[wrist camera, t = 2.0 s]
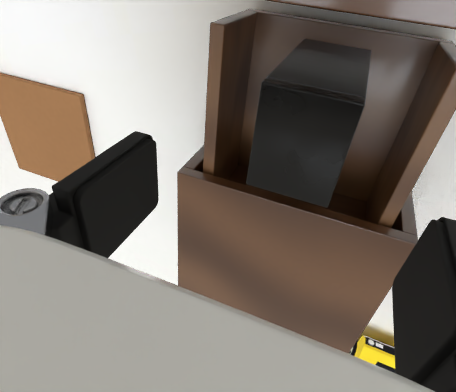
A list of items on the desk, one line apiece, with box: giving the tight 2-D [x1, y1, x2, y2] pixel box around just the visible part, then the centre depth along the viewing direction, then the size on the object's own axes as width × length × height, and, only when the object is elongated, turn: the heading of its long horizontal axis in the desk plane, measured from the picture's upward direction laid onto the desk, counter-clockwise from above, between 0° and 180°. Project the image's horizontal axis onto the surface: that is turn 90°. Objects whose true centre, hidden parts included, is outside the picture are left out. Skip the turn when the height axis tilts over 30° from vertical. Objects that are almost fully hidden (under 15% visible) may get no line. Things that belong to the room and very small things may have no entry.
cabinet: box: [177, 146, 418, 354], centre depth 27 cm, size 16×15×9 cm
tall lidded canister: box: [246, 39, 371, 208], centre depth 17 cm, size 5×4×10 cm
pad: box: [0, 73, 95, 182], centre depth 36 cm, size 12×12×1 cm
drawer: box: [203, 0, 456, 228], centre depth 19 cm, size 19×13×7 cm
